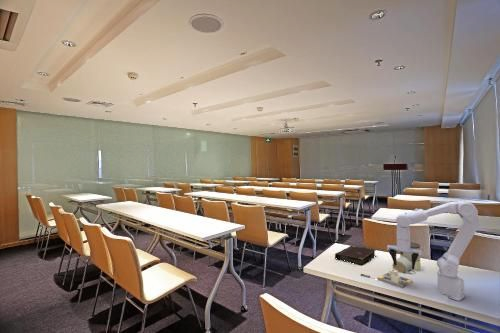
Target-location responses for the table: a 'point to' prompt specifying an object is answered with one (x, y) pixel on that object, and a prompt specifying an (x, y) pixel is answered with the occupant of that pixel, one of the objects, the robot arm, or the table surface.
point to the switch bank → (386, 276)
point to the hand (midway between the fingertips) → (404, 266)
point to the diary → (356, 255)
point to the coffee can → (408, 256)
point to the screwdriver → (367, 276)
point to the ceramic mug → (403, 265)
